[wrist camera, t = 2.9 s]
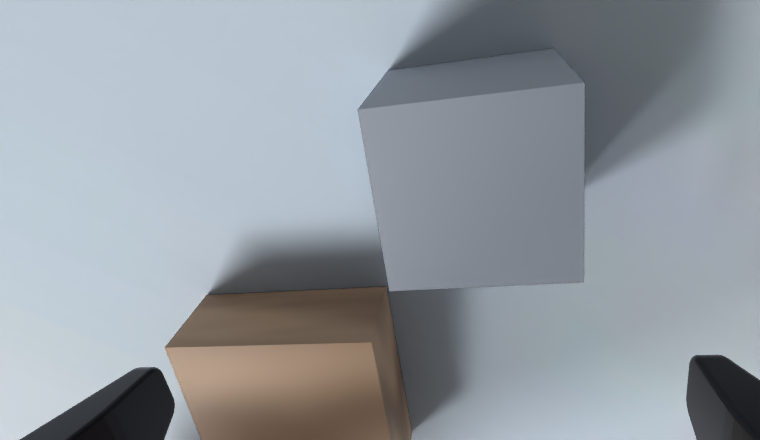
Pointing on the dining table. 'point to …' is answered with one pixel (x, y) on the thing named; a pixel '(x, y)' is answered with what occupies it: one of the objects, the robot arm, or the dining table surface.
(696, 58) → the dining table surface
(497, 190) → the slate cube
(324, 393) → the walnut block
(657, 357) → the dining table surface
